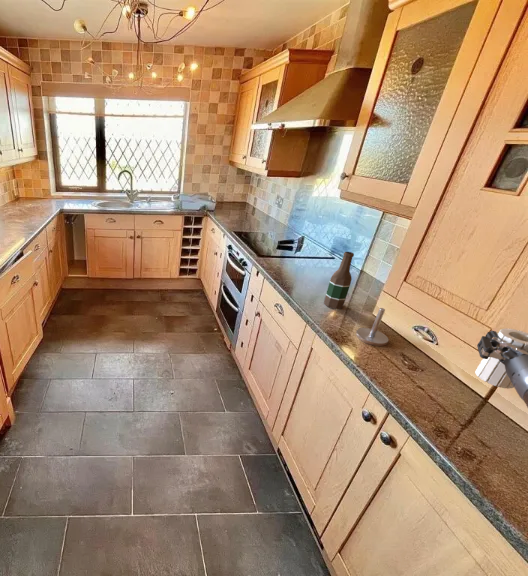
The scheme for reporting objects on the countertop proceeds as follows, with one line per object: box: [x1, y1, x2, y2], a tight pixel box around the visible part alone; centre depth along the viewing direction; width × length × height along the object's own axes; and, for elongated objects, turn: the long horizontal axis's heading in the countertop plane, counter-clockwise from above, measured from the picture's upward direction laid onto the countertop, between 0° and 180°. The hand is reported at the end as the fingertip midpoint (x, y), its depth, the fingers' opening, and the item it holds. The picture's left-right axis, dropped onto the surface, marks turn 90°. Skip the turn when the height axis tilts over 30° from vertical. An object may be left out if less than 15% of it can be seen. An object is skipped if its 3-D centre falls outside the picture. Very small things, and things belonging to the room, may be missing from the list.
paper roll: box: [474, 328, 528, 389], centre depth 70 cm, size 6×6×12 cm
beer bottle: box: [323, 251, 355, 310], centre depth 127 cm, size 8×8×24 cm
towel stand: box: [355, 307, 389, 347], centre depth 109 cm, size 10×10×12 cm
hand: (512, 338), depth 69 cm, fingers closed on paper roll, 6 cm apart
